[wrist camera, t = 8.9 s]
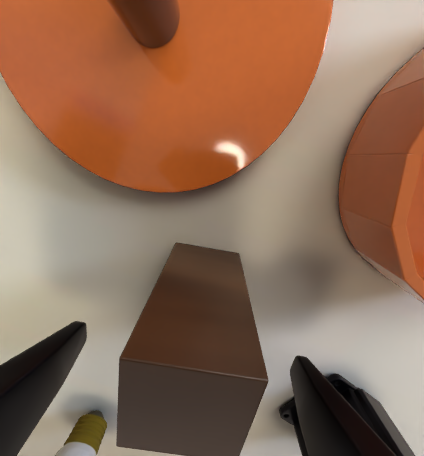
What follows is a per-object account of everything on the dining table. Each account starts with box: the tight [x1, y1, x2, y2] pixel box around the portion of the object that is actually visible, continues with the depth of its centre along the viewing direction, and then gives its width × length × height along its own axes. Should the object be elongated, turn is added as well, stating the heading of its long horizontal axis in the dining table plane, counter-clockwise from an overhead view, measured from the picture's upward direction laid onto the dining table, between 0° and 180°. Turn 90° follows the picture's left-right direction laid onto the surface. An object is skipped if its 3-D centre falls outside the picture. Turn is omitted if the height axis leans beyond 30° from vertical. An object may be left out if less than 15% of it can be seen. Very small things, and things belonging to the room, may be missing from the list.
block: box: [116, 243, 268, 456], centre depth 10 cm, size 4×4×8 cm
